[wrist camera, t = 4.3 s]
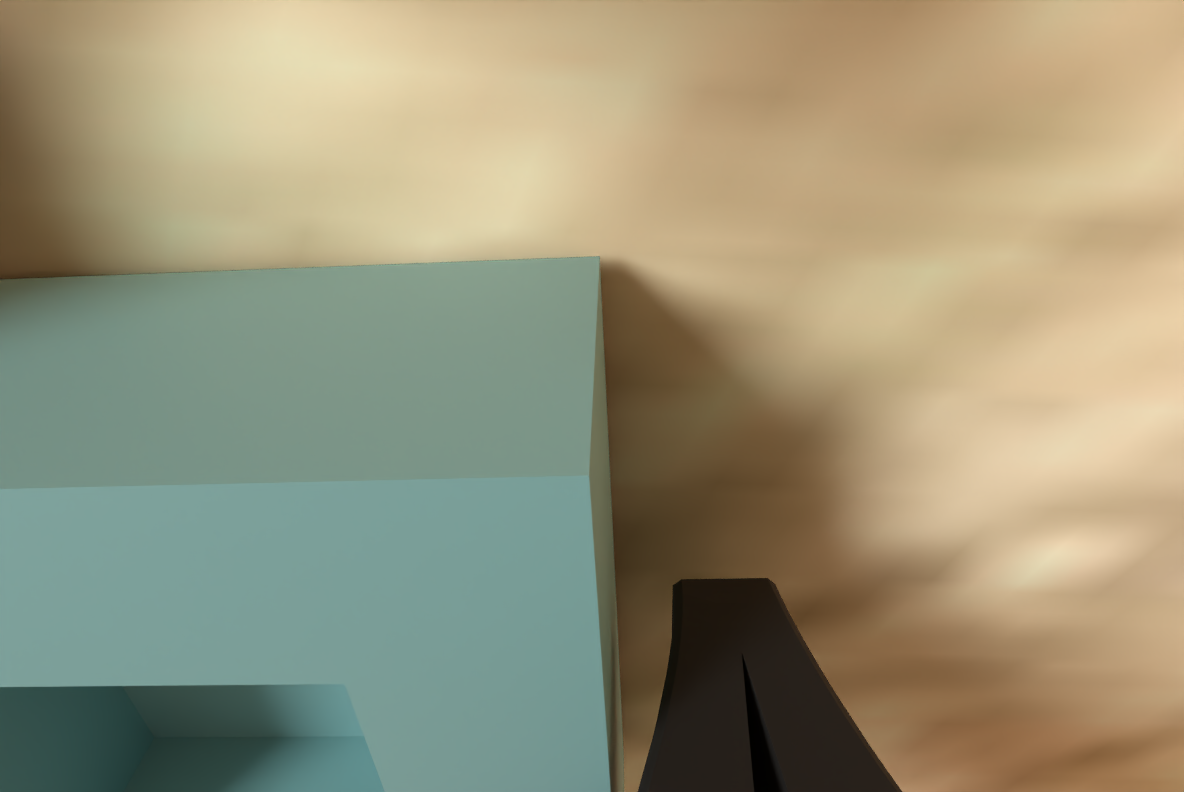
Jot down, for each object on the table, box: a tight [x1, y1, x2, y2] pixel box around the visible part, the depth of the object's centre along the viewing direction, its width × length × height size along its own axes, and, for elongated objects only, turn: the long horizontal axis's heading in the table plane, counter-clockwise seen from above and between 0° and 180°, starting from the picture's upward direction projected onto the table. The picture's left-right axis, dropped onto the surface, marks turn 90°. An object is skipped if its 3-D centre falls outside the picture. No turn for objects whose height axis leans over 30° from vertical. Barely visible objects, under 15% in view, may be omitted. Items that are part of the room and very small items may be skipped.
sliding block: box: [0, 256, 624, 792], centre depth 10 cm, size 10×10×4 cm
